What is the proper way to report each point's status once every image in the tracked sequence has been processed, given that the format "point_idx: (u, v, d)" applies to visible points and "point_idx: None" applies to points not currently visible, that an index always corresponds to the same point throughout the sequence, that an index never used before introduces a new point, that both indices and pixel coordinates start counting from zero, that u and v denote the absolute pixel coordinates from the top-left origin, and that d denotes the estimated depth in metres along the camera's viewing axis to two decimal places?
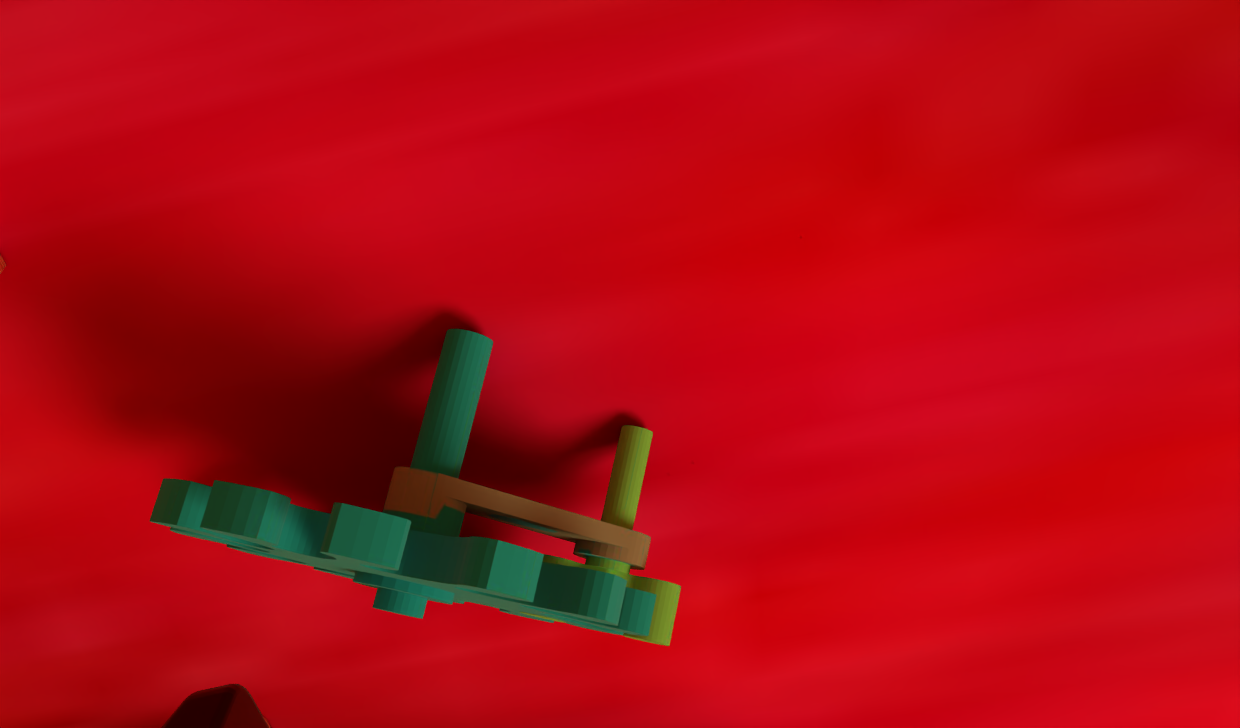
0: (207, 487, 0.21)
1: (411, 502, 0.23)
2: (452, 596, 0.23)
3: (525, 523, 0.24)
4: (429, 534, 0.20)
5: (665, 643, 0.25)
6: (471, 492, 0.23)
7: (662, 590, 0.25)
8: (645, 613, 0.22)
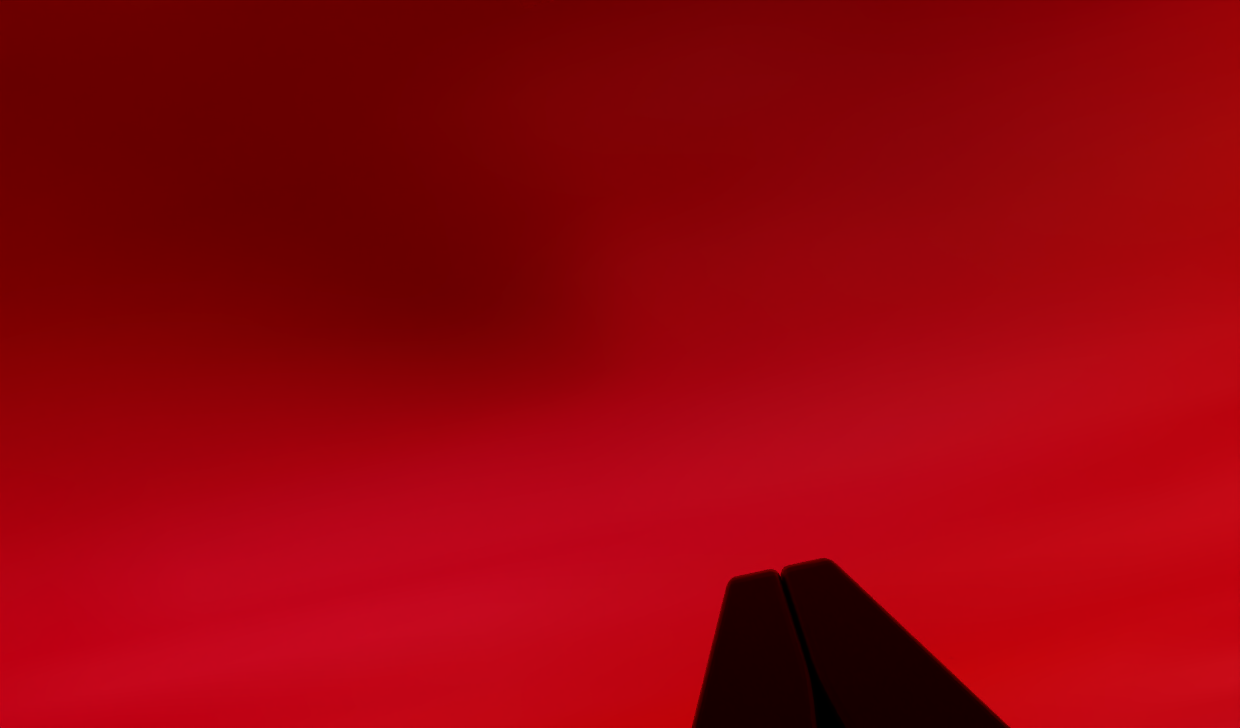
0: None
1: None
2: None
3: None
4: None
5: None
6: None
7: None
8: None
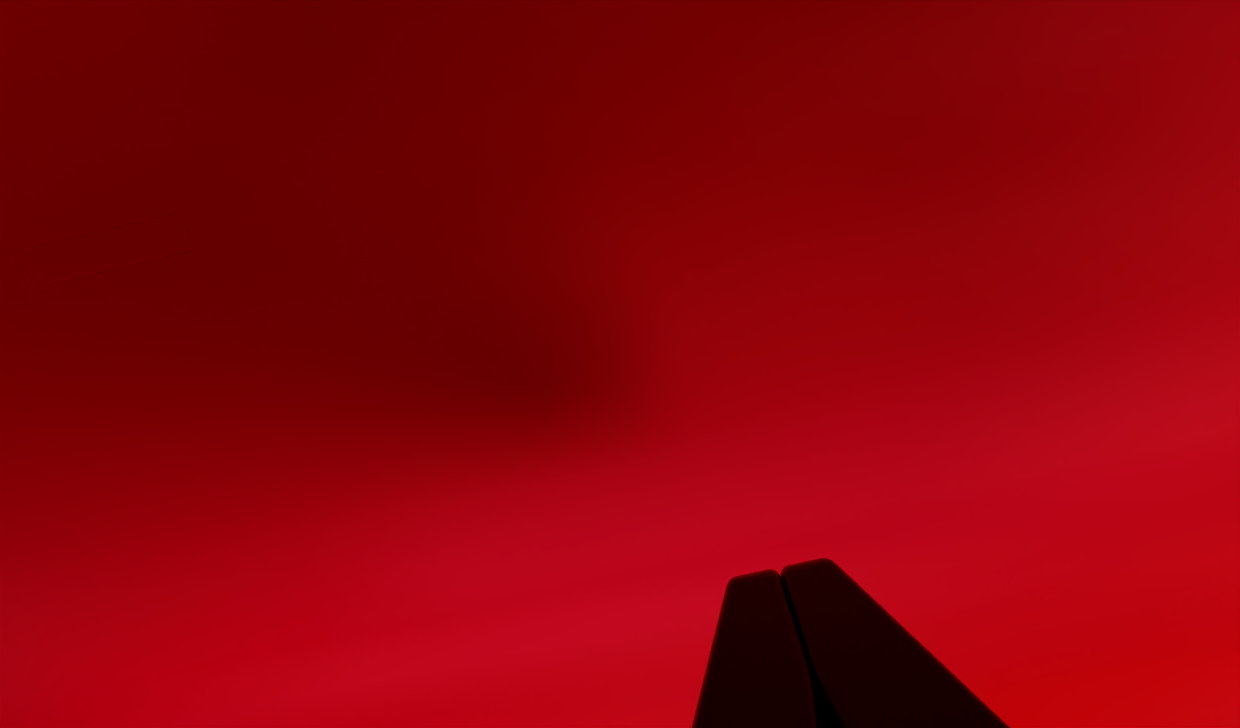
0: None
1: None
2: None
3: None
4: None
5: None
6: None
7: None
8: None
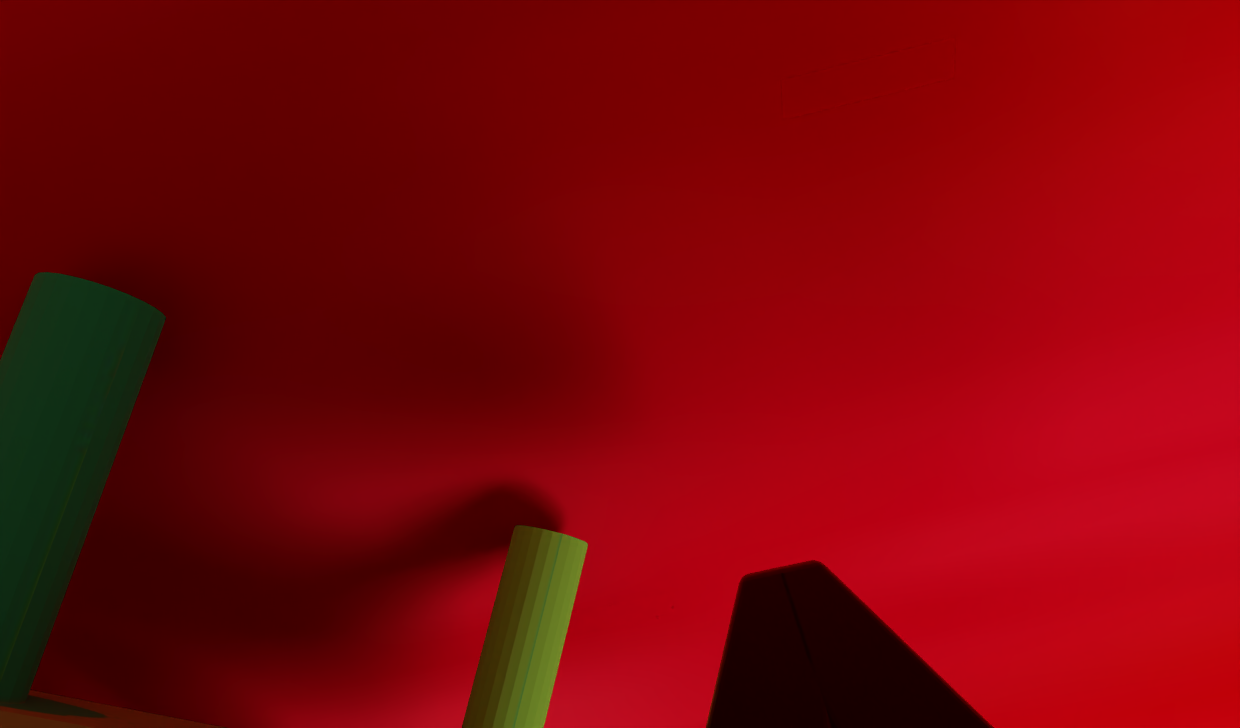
0: None
1: None
2: None
3: None
4: None
5: None
6: None
7: None
8: None
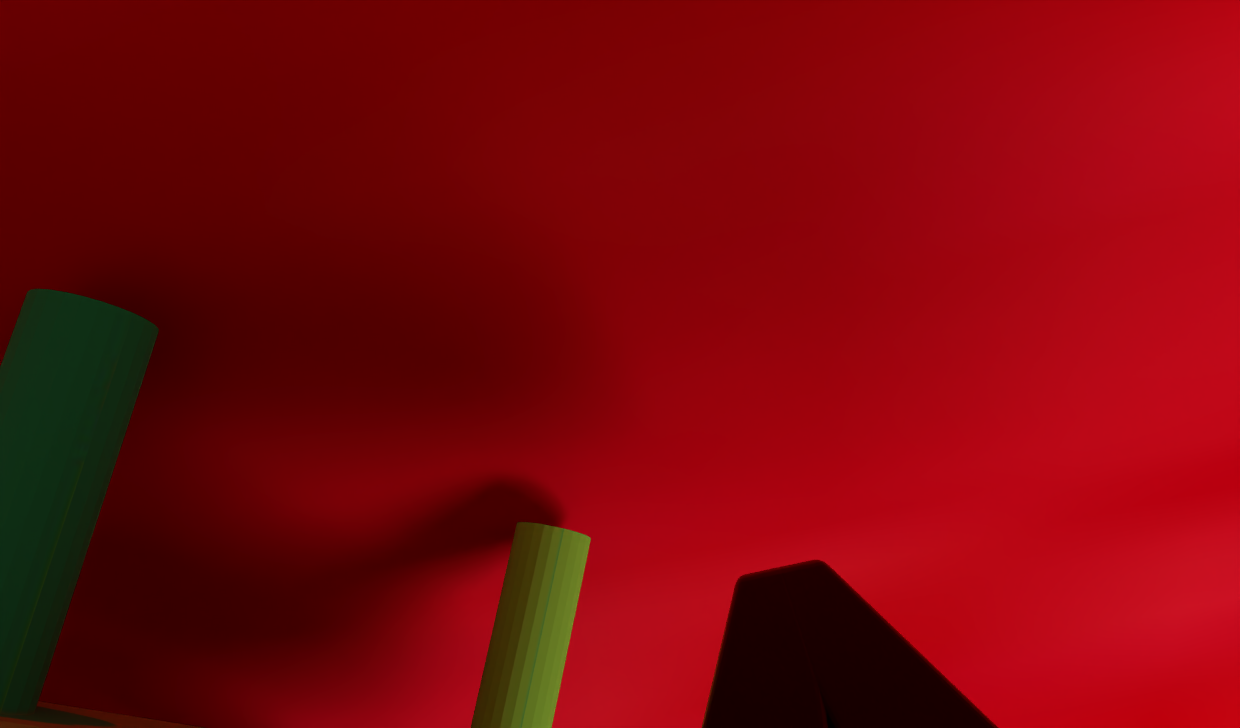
0: None
1: None
2: None
3: None
4: None
5: None
6: None
7: None
8: None
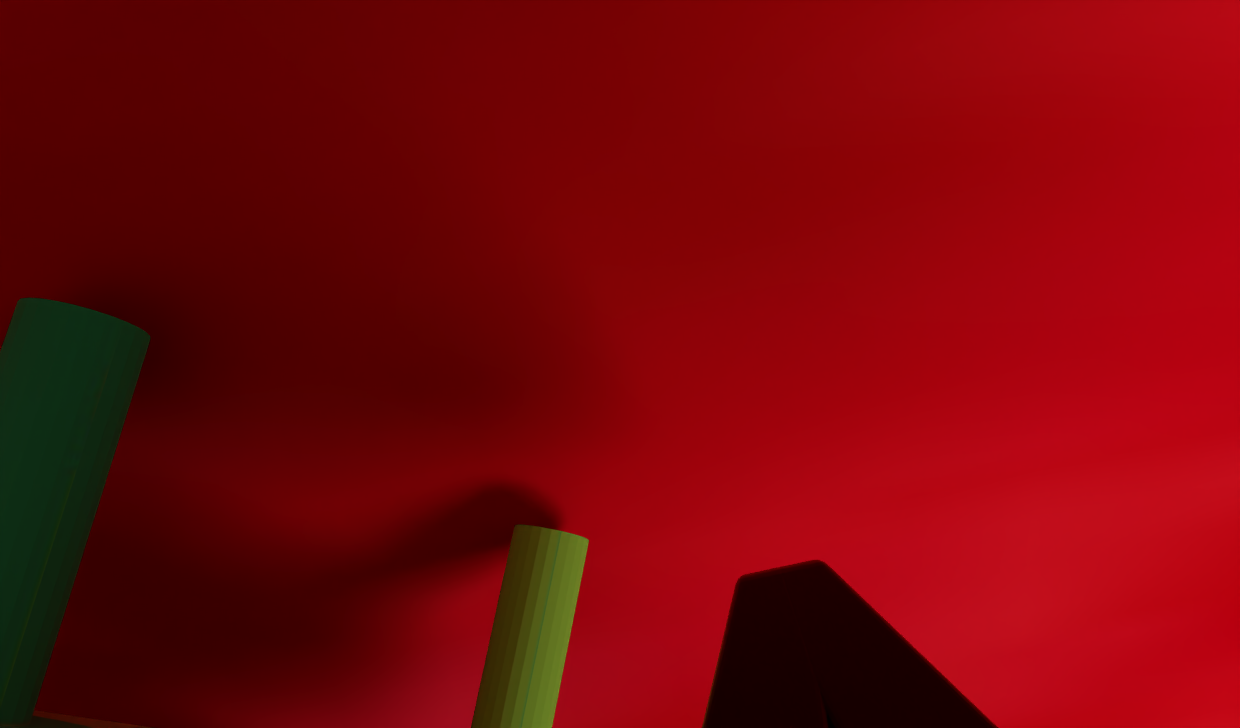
0: None
1: None
2: None
3: None
4: None
5: None
6: None
7: None
8: None
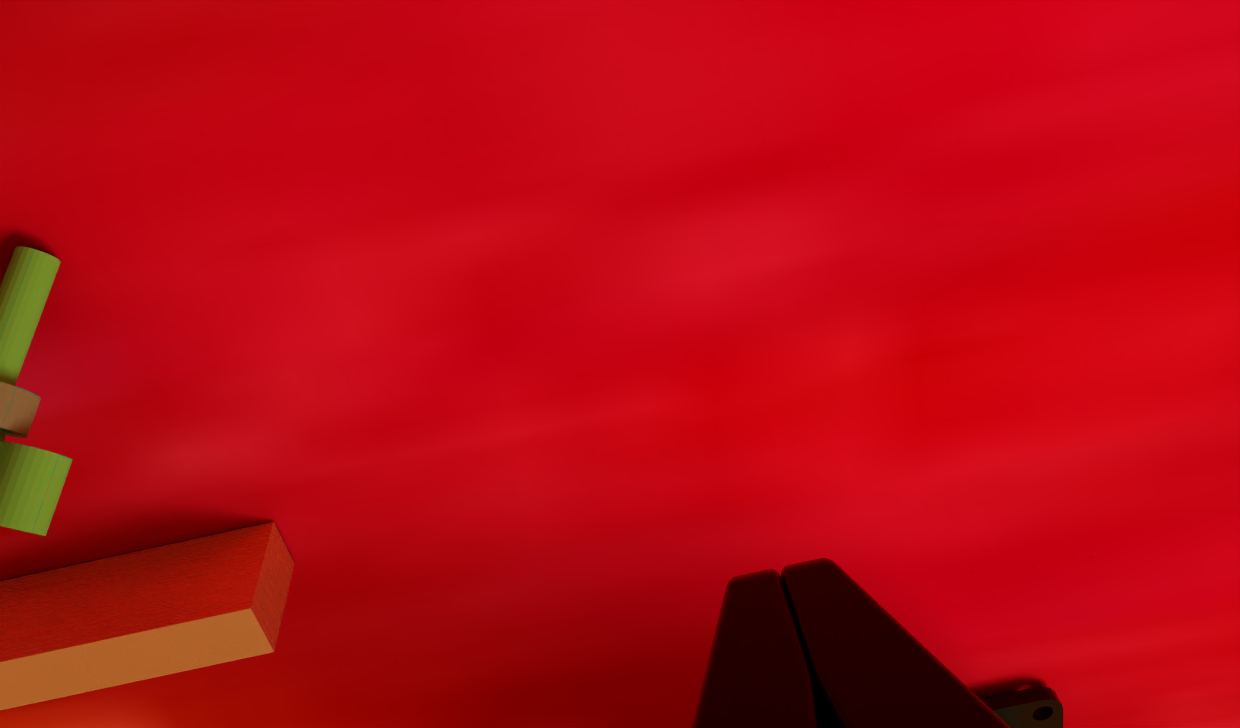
0: None
1: None
2: None
3: None
4: None
5: (27, 530, 0.18)
6: None
7: (25, 460, 0.18)
8: None
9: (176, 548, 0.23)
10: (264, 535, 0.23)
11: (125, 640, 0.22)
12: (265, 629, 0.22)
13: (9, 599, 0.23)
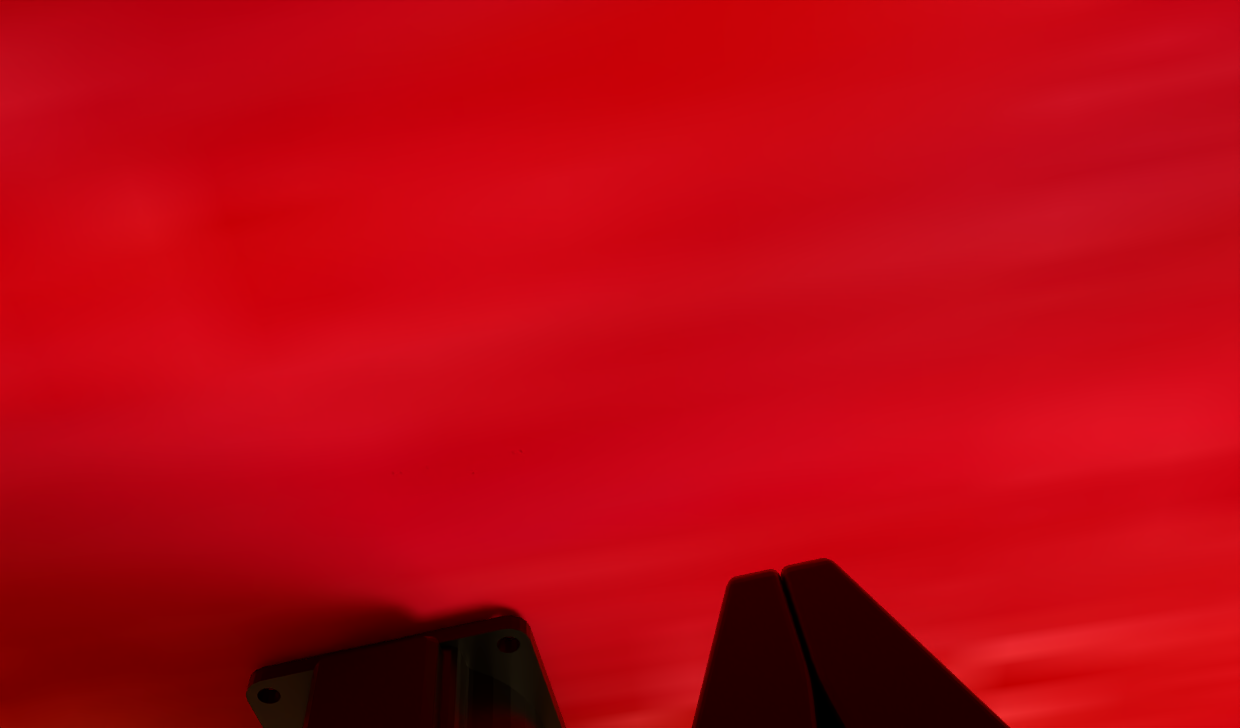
0: None
1: None
2: None
3: None
4: None
5: None
6: None
7: None
8: None
9: None
10: None
11: None
12: None
13: None
